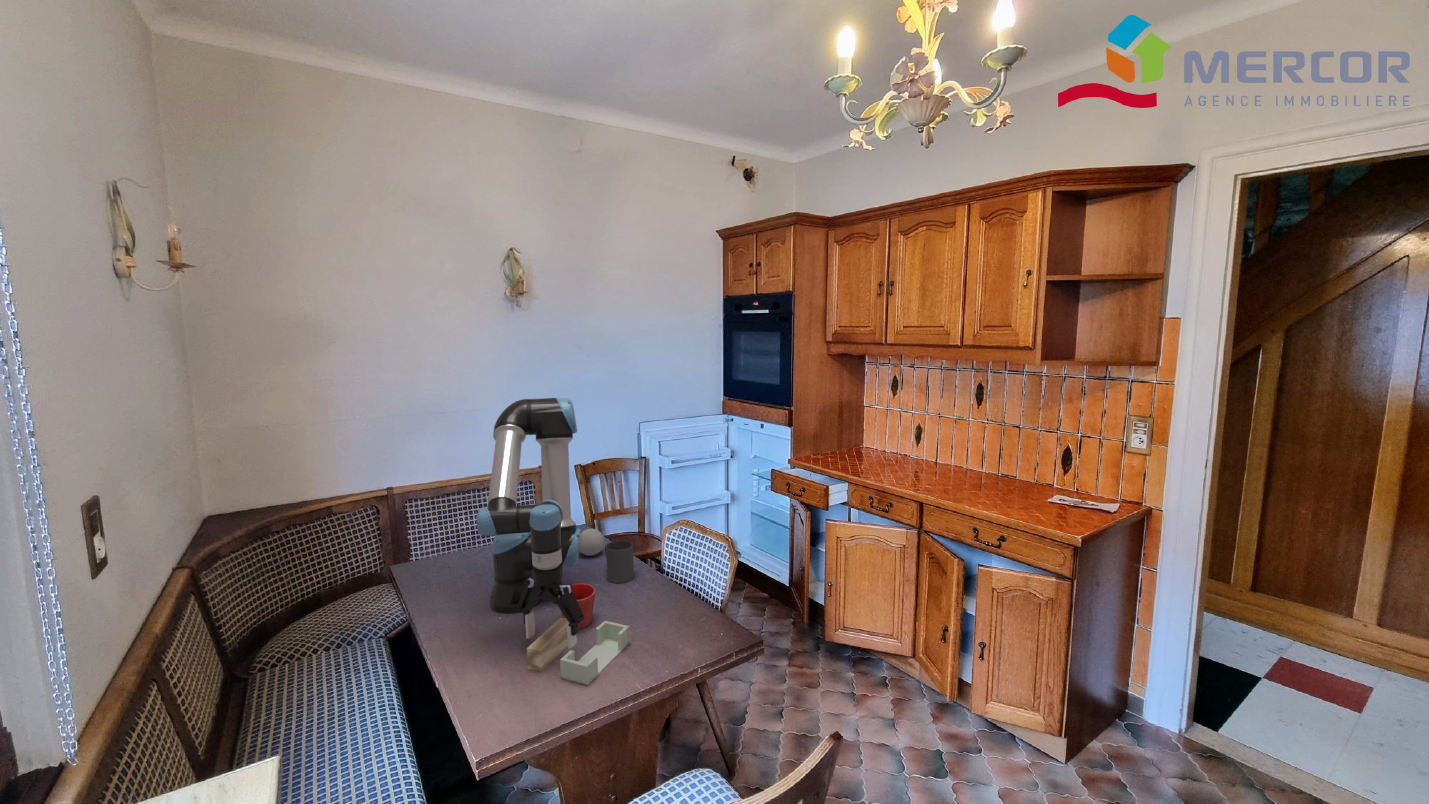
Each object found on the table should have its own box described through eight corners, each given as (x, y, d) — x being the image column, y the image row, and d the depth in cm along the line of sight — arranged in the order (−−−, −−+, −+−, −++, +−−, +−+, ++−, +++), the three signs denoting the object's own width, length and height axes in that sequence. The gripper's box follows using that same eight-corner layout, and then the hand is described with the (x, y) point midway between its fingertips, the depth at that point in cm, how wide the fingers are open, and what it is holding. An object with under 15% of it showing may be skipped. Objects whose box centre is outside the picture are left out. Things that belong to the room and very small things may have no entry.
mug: (639, 577, 199) (638, 544, 197) (616, 586, 193) (615, 552, 191) (617, 565, 209) (616, 534, 207) (595, 573, 203) (593, 541, 201)
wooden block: (527, 670, 147) (526, 648, 146) (561, 637, 163) (560, 617, 162) (541, 672, 146) (540, 650, 145) (574, 639, 161) (573, 619, 160)
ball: (609, 551, 221) (608, 527, 220) (594, 561, 212) (592, 536, 211) (588, 547, 225) (587, 523, 224) (572, 557, 216) (570, 532, 215)
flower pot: (603, 616, 173) (602, 585, 172) (583, 634, 163) (582, 602, 162) (573, 610, 177) (571, 580, 176) (552, 628, 167) (550, 597, 165)
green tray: (560, 678, 144) (560, 659, 143) (605, 637, 162) (604, 620, 161) (587, 685, 141) (587, 666, 140) (629, 643, 159) (629, 626, 158)
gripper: (499, 563, 152) (504, 638, 155) (578, 577, 142) (581, 657, 145) (519, 553, 159) (523, 625, 161) (595, 566, 149) (598, 642, 152)
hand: (551, 640), depth 153 cm, fingers open, 13 cm apart
